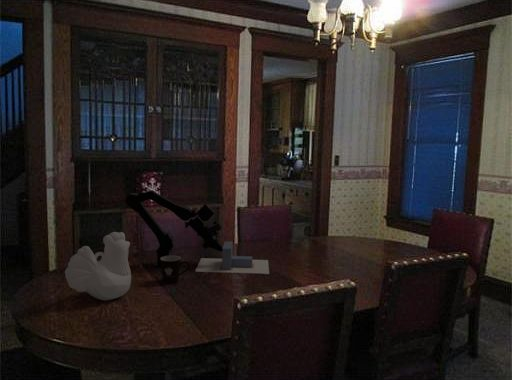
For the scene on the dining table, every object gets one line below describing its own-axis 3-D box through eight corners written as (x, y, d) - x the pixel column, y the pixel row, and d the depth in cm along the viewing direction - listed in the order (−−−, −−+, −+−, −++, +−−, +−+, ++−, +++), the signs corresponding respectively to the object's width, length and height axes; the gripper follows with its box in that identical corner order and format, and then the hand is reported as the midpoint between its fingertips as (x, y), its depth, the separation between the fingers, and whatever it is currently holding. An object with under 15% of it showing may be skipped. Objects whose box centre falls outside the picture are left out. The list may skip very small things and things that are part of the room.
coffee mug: (155, 282, 180) (155, 259, 179) (169, 276, 187) (169, 254, 186) (177, 287, 174) (178, 263, 173) (190, 281, 182) (190, 258, 181)
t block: (221, 269, 198) (222, 248, 197) (224, 261, 212) (224, 241, 211) (251, 270, 198) (252, 249, 197) (252, 261, 212) (252, 242, 211)
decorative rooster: (123, 285, 174) (123, 226, 171) (138, 297, 162) (138, 233, 159) (58, 298, 159) (56, 233, 156) (69, 312, 147) (67, 242, 144)
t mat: (194, 272, 194) (194, 271, 194) (201, 258, 216) (201, 258, 216) (269, 274, 194) (269, 273, 194) (268, 260, 216) (268, 260, 216)
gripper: (209, 220, 193) (233, 244, 194) (214, 213, 212) (235, 235, 213) (192, 236, 194) (216, 260, 195) (198, 228, 213) (220, 250, 214)
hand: (222, 251), depth 204 cm, fingers closed, pressing on t block
